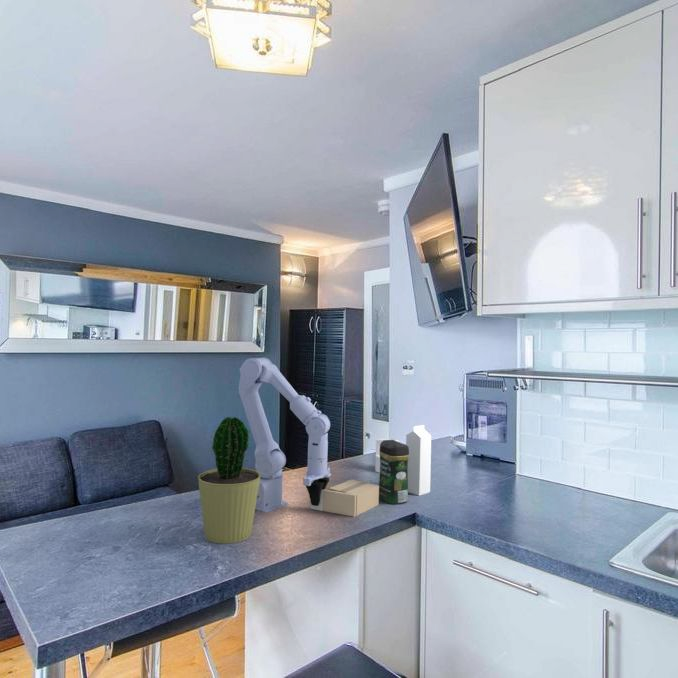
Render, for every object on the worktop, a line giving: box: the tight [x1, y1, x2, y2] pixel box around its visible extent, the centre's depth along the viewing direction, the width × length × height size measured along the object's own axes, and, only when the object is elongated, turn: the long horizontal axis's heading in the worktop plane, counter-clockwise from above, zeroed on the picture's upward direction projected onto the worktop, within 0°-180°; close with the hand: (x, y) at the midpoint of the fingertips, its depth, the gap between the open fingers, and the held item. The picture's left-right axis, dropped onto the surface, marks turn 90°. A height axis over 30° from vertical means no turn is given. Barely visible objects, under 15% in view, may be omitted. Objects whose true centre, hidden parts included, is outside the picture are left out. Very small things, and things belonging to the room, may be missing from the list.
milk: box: [405, 424, 432, 497], centre depth 158 cm, size 6×6×22 cm
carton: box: [328, 479, 380, 517], centre depth 142 cm, size 12×10×6 cm
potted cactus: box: [197, 416, 261, 545], centre depth 120 cm, size 15×15×30 cm
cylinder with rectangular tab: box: [374, 437, 400, 474], centre depth 183 cm, size 9×9×12 cm
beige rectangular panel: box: [309, 489, 357, 518], centre depth 136 cm, size 1×14×6 cm, turn 67°
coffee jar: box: [378, 439, 409, 505], centre depth 149 cm, size 10×8×19 cm
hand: (316, 504), depth 138 cm, fingers closed
